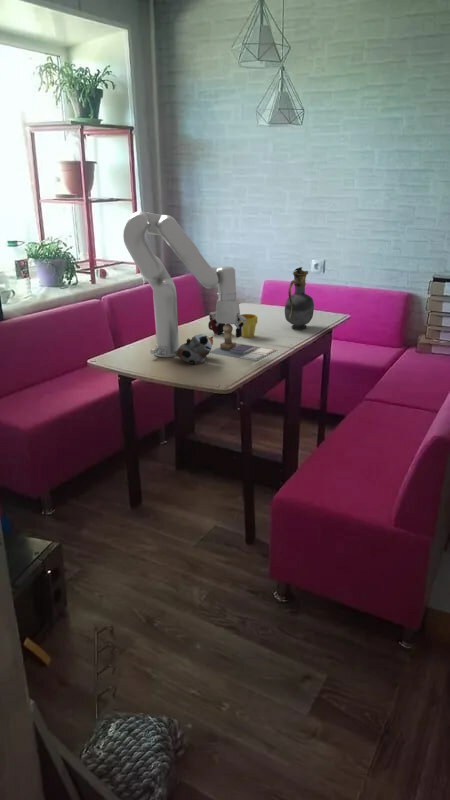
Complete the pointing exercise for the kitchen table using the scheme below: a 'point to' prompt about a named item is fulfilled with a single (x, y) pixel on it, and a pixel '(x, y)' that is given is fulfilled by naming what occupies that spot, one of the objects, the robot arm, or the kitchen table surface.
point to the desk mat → (227, 353)
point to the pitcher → (299, 302)
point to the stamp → (227, 338)
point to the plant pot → (249, 325)
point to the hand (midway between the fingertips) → (229, 335)
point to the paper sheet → (257, 353)
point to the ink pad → (242, 349)
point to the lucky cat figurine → (195, 349)
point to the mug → (212, 325)
